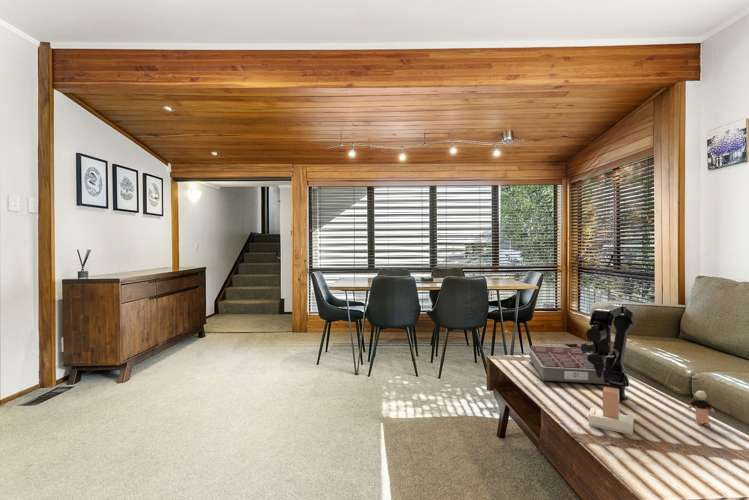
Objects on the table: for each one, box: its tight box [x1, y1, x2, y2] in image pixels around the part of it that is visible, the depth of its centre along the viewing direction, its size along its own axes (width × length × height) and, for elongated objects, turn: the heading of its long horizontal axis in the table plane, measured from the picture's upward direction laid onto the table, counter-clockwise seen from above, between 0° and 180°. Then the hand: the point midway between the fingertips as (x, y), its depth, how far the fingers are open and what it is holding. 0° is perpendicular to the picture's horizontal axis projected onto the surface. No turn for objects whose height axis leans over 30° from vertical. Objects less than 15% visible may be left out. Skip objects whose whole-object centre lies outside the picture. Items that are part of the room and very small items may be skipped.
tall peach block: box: [602, 386, 620, 420], centre depth 151 cm, size 6×5×12 cm
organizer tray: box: [528, 345, 608, 385], centre depth 214 cm, size 32×40×10 cm
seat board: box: [588, 407, 635, 436], centre depth 152 cm, size 16×14×4 cm
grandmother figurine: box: [687, 390, 716, 427], centre depth 150 cm, size 8×4×13 cm, turn 71°
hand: (603, 375), depth 168 cm, fingers open, 9 cm apart
